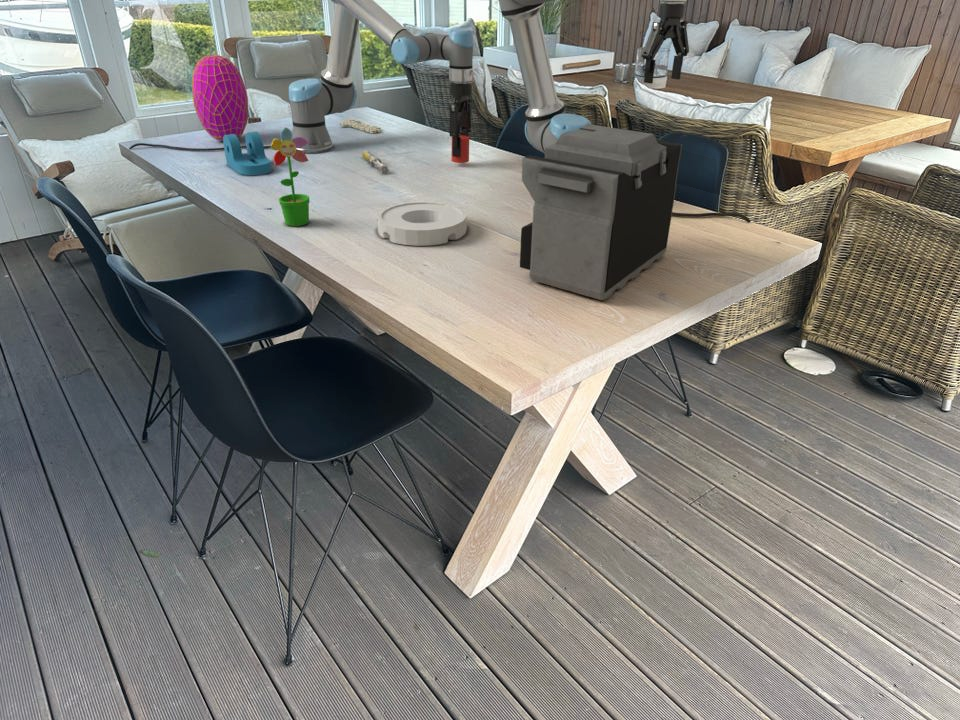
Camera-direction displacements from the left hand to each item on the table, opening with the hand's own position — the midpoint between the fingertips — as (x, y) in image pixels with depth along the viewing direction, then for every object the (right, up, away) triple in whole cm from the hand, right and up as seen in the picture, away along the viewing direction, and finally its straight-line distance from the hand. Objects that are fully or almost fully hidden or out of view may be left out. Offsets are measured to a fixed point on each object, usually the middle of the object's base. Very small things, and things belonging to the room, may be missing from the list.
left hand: (460, 153), depth 234 cm
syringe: (-29, -4, +1) cm, 29 cm away
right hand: (+62, +15, -24) cm, 69 cm away
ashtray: (-8, -36, -54) cm, 66 cm away
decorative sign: (-44, +26, +51) cm, 72 cm away
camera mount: (-70, -6, -5) cm, 70 cm away
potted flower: (-42, -34, -50) cm, 74 cm away
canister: (0, -2, +1) cm, 2 cm away
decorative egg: (-90, +14, +29) cm, 95 cm away
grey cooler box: (+33, -49, -75) cm, 95 cm away
